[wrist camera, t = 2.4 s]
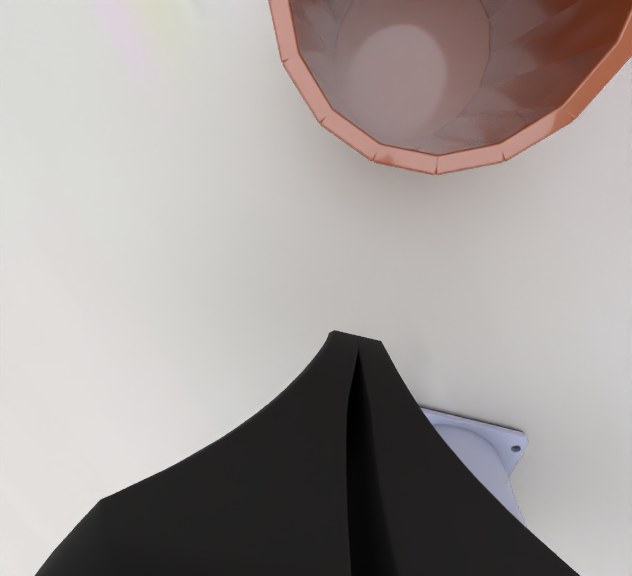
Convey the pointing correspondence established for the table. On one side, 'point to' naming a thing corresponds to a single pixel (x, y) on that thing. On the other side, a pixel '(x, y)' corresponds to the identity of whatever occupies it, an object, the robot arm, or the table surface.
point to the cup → (449, 72)
